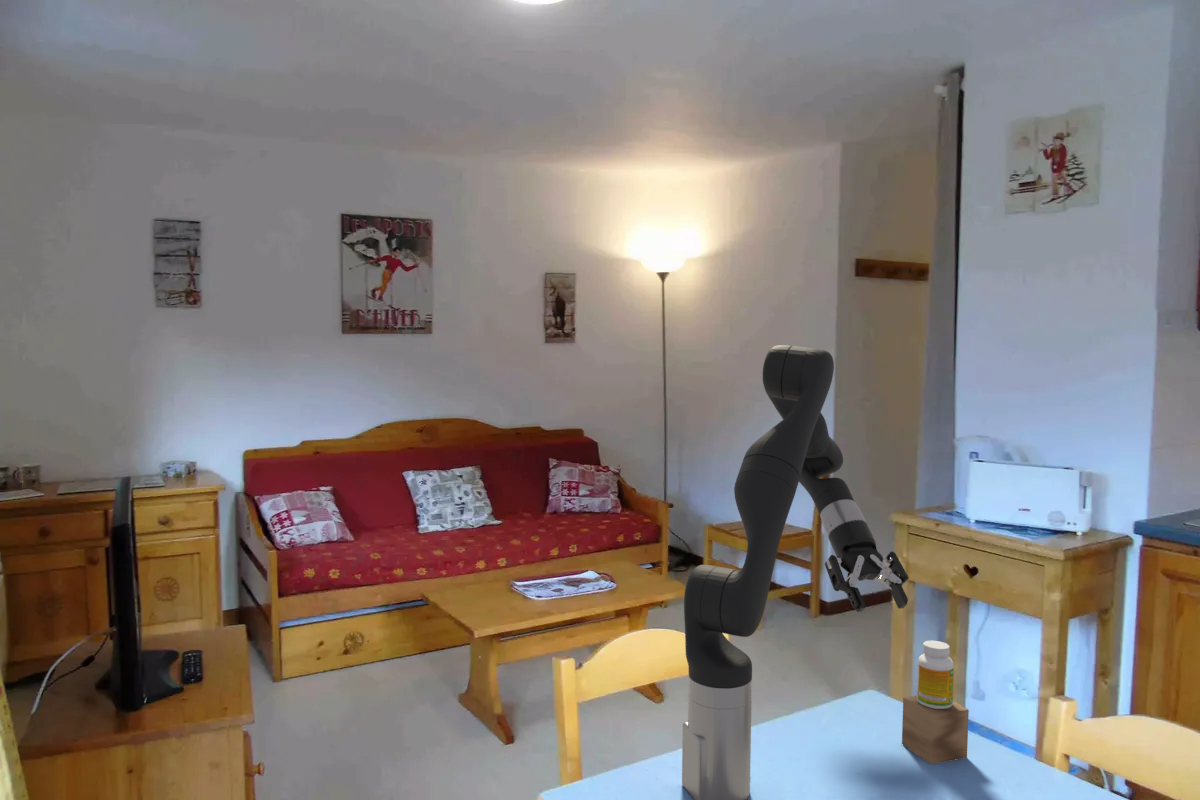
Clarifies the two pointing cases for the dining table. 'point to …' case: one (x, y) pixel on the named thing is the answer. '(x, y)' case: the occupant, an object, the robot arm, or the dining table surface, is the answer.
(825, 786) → the dining table surface
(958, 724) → the walnut block
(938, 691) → the supplement bottle
